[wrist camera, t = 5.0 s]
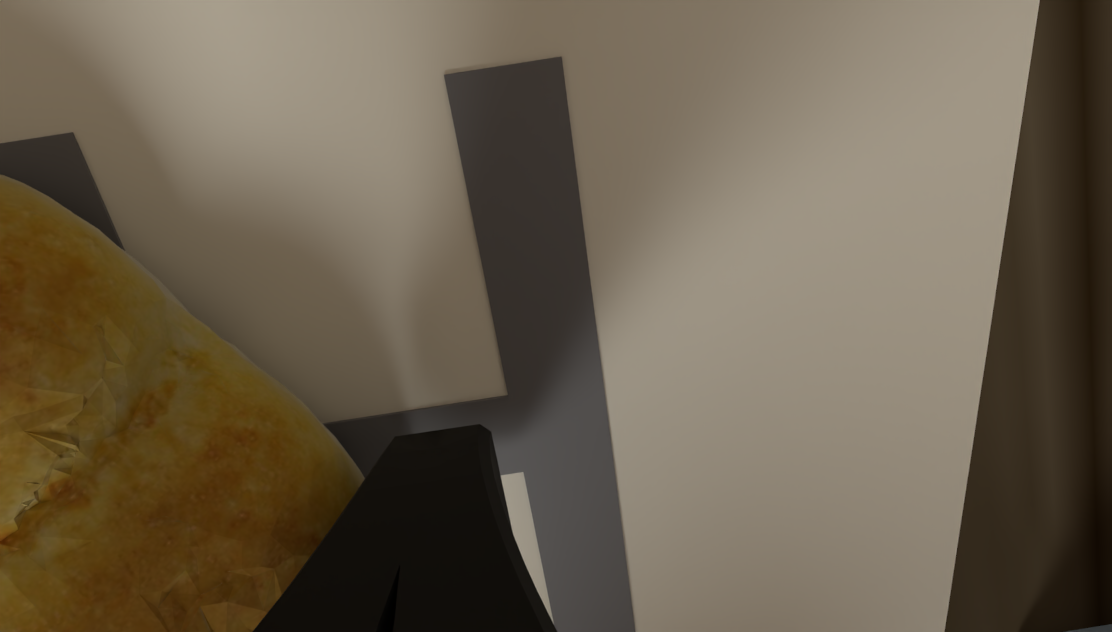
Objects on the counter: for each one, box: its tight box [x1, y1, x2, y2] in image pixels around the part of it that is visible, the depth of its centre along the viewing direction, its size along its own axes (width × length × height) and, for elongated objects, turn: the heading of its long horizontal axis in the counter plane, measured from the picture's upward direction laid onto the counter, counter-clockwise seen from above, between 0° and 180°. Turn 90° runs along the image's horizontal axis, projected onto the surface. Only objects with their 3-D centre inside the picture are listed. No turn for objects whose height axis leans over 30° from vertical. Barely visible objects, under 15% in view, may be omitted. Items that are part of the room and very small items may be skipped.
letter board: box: [0, 0, 1040, 632], centre depth 10 cm, size 12×16×1 cm
